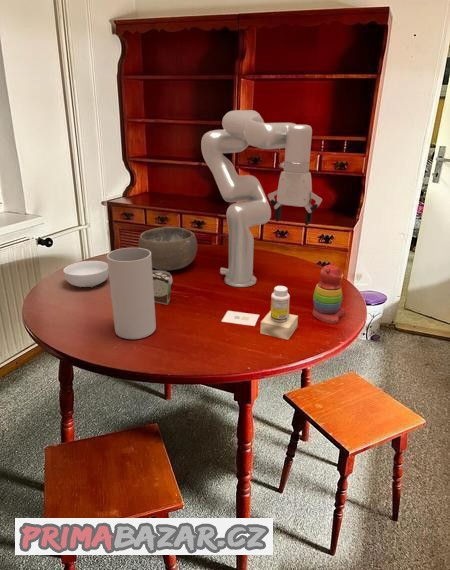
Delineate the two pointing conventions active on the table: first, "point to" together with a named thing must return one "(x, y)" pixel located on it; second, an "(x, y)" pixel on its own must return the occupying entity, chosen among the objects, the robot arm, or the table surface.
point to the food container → (162, 286)
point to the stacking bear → (329, 295)
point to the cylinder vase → (132, 292)
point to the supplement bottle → (280, 304)
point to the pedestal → (279, 326)
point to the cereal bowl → (86, 273)
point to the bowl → (169, 247)
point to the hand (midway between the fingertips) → (292, 222)
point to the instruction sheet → (240, 318)
